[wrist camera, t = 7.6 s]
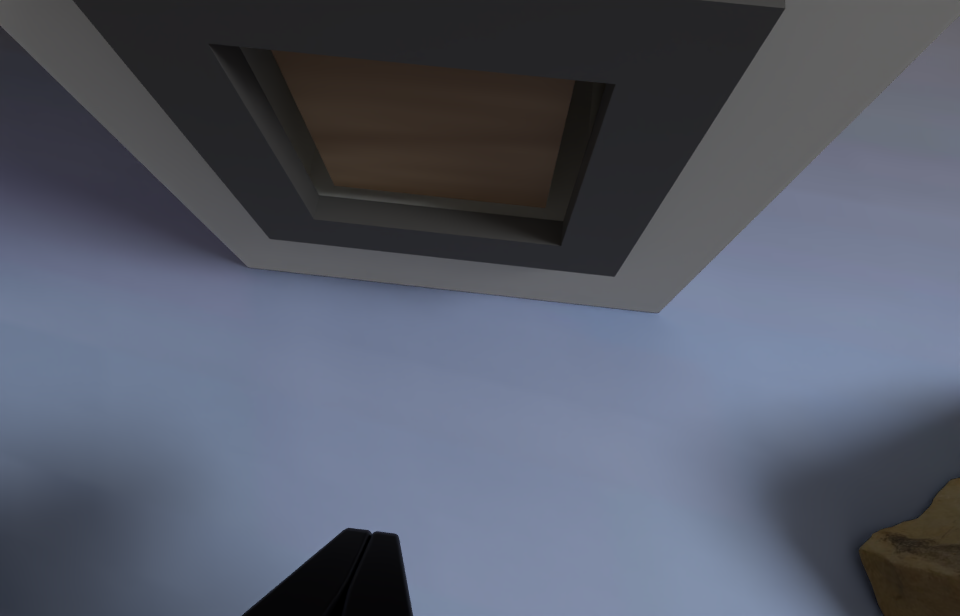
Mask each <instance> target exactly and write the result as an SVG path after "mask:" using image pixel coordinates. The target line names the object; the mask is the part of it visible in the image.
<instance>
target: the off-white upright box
mask: <svg viewBox="0 0 960 616" xmlns="http://www.w3.org/2000/svg"><path fill="white" fill-rule="evenodd" d="M959 15H960V0H0V26H1V27H2V28H3V29H4V30H5V31H6V32H7V33H8V34H9V35H10V36H11V37H12V38H13V39H14V40H16V41H17V42H18V43H19V44H20V45H21V46H22V47H23V48H24V49H25V50H26V51H27V52H28V53H29V54H30V55H31V56H32V57H33V58H34V59H35V60H36V61H37V62H38V63H39V64H40V65H41V66H42V67H43V68H44V69H45V70H46V71H47V72H48V73H49V74H50V75H51V76H52V77H53V78H54V79H56V80H57V81H58V82H59V83H60V84H61V85H62V86H63V87H64V88H65V89H66V90H67V91H68V92H69V93H70V94H71V95H72V96H73V97H74V98H75V99H76V100H77V101H78V102H79V103H80V104H81V105H82V106H83V107H84V108H85V109H86V110H87V111H88V112H89V113H90V114H91V115H92V116H93V117H94V118H96V119H97V120H98V121H99V122H100V123H101V124H102V125H103V126H104V127H105V128H106V129H107V130H108V131H109V132H110V133H111V134H112V135H113V136H114V137H115V138H116V139H117V140H118V141H119V142H120V143H121V144H122V145H123V146H124V147H125V148H126V149H127V150H128V151H129V152H130V153H131V154H132V155H133V156H135V157H136V158H137V159H138V160H139V161H140V162H141V163H142V164H143V165H144V166H145V167H146V168H147V169H148V170H149V171H150V172H151V173H152V174H153V175H154V176H155V177H156V178H157V179H158V180H159V181H160V182H161V183H162V184H163V185H164V186H165V187H166V188H167V189H168V190H169V191H170V192H171V193H172V194H173V195H175V196H176V197H177V198H178V199H179V200H180V201H181V202H182V203H183V204H184V205H185V206H186V207H187V208H188V209H189V210H190V211H191V212H192V213H193V214H194V215H195V216H196V217H197V218H198V219H199V220H200V221H201V222H202V223H203V224H204V225H205V226H206V227H207V228H208V229H209V230H210V231H211V232H212V233H213V234H215V235H216V236H217V237H218V238H219V239H220V240H221V241H222V242H223V243H224V244H225V245H226V246H227V247H228V248H229V249H230V250H231V251H232V252H233V253H234V254H235V255H236V256H237V257H238V258H239V259H240V260H241V261H242V262H243V263H244V264H245V265H246V266H247V267H248V268H257V269H266V270H275V271H284V272H293V273H302V274H311V275H320V276H329V277H338V278H347V279H356V280H365V281H374V282H383V283H392V284H401V285H410V286H419V287H428V288H437V289H445V290H454V291H463V292H472V293H481V294H490V295H499V296H508V297H517V298H526V299H535V300H544V301H553V302H562V303H571V304H580V305H589V306H598V307H607V308H616V309H625V310H634V311H643V312H652V313H659V312H660V311H661V310H662V309H663V308H664V307H665V306H666V305H667V304H668V303H669V302H670V301H671V300H672V299H673V298H674V297H675V296H676V295H677V294H678V293H679V292H680V291H681V290H682V289H683V288H684V287H686V286H687V285H688V284H689V283H690V282H691V281H692V280H693V279H694V278H695V277H696V276H697V275H698V274H699V273H700V272H701V271H702V270H703V269H704V268H705V267H706V266H707V265H708V264H709V263H710V262H711V261H712V260H713V259H714V258H715V257H716V256H717V255H718V254H719V253H720V252H721V251H722V250H723V249H724V248H725V247H726V246H727V245H728V244H729V243H730V242H731V241H732V240H733V239H734V238H735V237H736V236H737V235H738V234H739V233H740V232H741V231H742V230H743V229H744V228H745V227H746V226H747V225H748V224H749V223H750V222H751V221H752V220H753V219H754V218H755V217H756V216H757V215H758V214H759V213H760V212H761V211H762V210H763V209H764V208H765V207H766V206H767V205H768V204H769V203H770V202H771V201H772V200H773V199H774V198H775V197H776V196H778V195H779V194H780V193H781V192H782V191H783V190H784V189H785V188H786V187H787V186H788V185H789V184H790V183H791V182H792V181H793V180H794V179H795V178H796V177H797V176H798V175H799V174H800V173H801V172H802V171H803V170H804V169H805V168H806V167H807V166H808V165H809V164H810V163H811V162H812V161H813V160H814V159H815V158H816V157H817V156H818V155H819V154H820V153H821V152H822V151H823V150H824V149H825V148H826V147H827V146H828V145H829V144H830V143H831V142H832V141H833V140H834V139H835V138H836V137H837V136H838V135H839V134H840V133H841V132H842V131H843V130H844V129H845V128H846V127H847V126H848V125H849V124H850V123H851V122H852V121H853V120H854V119H855V118H856V117H857V116H858V115H859V114H860V113H861V112H862V111H863V110H864V109H865V108H866V107H867V106H868V105H870V104H871V103H872V102H873V101H874V100H875V99H876V98H877V97H878V96H879V95H880V94H881V93H882V92H883V91H884V90H885V89H886V88H887V87H888V86H889V85H890V84H891V83H892V82H893V81H894V80H895V79H896V78H897V77H898V76H899V75H900V74H901V73H902V72H903V71H904V70H905V69H906V68H907V67H908V66H909V65H910V64H911V63H912V62H913V61H914V60H915V59H916V58H917V57H918V56H919V55H920V54H921V53H922V52H923V51H924V50H925V49H926V48H927V47H928V46H929V45H930V44H931V43H932V42H933V41H934V40H935V39H936V38H937V37H938V36H939V35H940V34H941V33H942V32H943V31H944V30H945V29H946V28H947V27H948V26H949V25H950V24H951V23H952V22H953V21H954V20H955V19H956V18H957V17H958V16H959ZM271 50H277V51H287V52H297V53H307V54H317V55H327V56H337V57H347V58H357V59H367V60H377V61H387V62H397V63H407V64H417V65H427V66H437V67H447V68H457V69H468V70H478V71H488V72H498V73H508V74H518V75H528V76H538V77H548V78H558V79H568V80H575V84H574V89H573V93H572V97H571V101H570V105H569V110H568V114H567V118H566V122H565V127H564V131H563V135H562V139H561V144H560V148H559V152H558V156H557V160H556V165H555V169H554V173H553V177H552V182H551V186H550V190H549V194H548V199H547V203H546V207H545V208H539V207H529V206H520V205H511V204H501V203H492V202H483V201H473V200H464V199H454V198H445V197H436V196H426V195H417V194H407V193H398V192H389V191H379V190H370V189H361V188H351V187H342V186H335V185H334V183H333V181H332V179H331V177H330V175H329V173H328V171H327V168H326V166H325V164H324V162H323V160H322V158H321V156H320V154H319V151H318V149H317V147H316V145H315V143H314V141H313V139H312V136H311V134H310V132H309V130H308V128H307V126H306V124H305V122H304V119H303V117H302V115H301V113H300V111H299V109H298V107H297V105H296V102H295V100H294V98H293V96H292V94H291V92H290V90H289V88H288V85H287V83H286V81H285V79H284V77H283V75H282V73H281V70H280V68H279V66H278V64H277V62H276V60H275V58H274V56H273V53H272V51H271Z"/></svg>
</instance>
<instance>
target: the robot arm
mask: <svg viewBox="0 0 960 616" xmlns="http://www.w3.org/2000/svg"><path fill="white" fill-rule="evenodd" d="M242 616H413V613H412V607H411V602H410V596H409V591H408V585H407V580H406V574H405V568H404V563H403V557H402V552H401V546H400V541H399V537H398V535H397V534H394V533H386V532H379V531H376V532H374V533H373V534H372V533H371V532H370V531H369V530H362V529H354V528H347V529H345V530H343V531H342V532H341V533H340V534H338V535H337V536H336V537H335V538H334V539H333V540H331V541H330V542H329V543H328V544H327V545H325V546H324V547H323V548H322V549H321V550H319V551H318V552H317V553H316V554H315V555H313V556H312V557H311V558H310V559H309V560H307V561H306V562H305V563H304V564H303V565H301V566H300V567H299V568H298V569H297V570H295V571H294V572H293V573H292V574H291V575H289V576H288V577H287V578H286V579H285V580H284V581H282V582H281V583H280V584H279V585H278V586H276V587H275V588H274V589H273V590H272V591H270V592H269V593H268V594H267V595H266V596H264V597H263V598H262V599H261V600H260V601H258V602H257V603H256V604H255V605H254V606H252V607H251V608H250V609H249V610H248V611H246V612H245V613H244V614H243V615H242Z"/></svg>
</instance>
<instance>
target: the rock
mask: <svg viewBox="0 0 960 616" xmlns="http://www.w3.org/2000/svg"><path fill="white" fill-rule="evenodd" d="M859 554H860V558H861V561H862V564H863V566H864V568H865V570H866V572H867V575H868V577H869V580H870V582H871V584H872V587H873V590H874V594H875V596H876V599H877V602H878V606H879V607H880V609H881V611H882V613H883V614H884V616H960V478H956V479H951V480H950V481H949V482H948V483H947V484H946V485H945V487H944V488H943V489H941V490H940V491H939V492H938V494H937V495H936V496H935V497H934V499H933V502H932V504H931V505H930V507H929V508H928V509H927V510H926V511H925V512H924V513H923V514H922V515H921V516H920V517H919V518H916V519H913V520H910V521H905V522H902V523H900V524H897V525H895V526H893V527H889V528H884V529H881V530H879V531H878V532H876V533H873V534H872V536H871V538H870V539H869V540H867V541H866V542H865V543H864V544H863V545H862V546H861V547H860V549H859Z"/></svg>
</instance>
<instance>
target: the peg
mask: <svg viewBox="0 0 960 616" xmlns="http://www.w3.org/2000/svg"><path fill="white" fill-rule="evenodd" d="M271 51H272V53H273V56H274V58H275V60H276V62H277V64H278V66H279V68H280V70H281V73H282V75H283V77H284V79H285V81H286V83H287V85H288V88H289V90H290V92H291V94H292V96H293V98H294V100H295V102H296V105H297V107H298V109H299V111H300V113H301V115H302V117H303V119H304V122H305V124H306V126H307V128H308V130H309V132H310V134H311V136H312V139H313V141H314V143H315V145H316V147H317V149H318V151H319V154H320V156H321V158H322V160H323V162H324V164H325V166H326V168H327V171H328V173H329V175H330V177H331V179H332V181H333V183H334V185H335V186H342V187H351V188H361V189H370V190H379V191H389V192H398V193H407V194H417V195H426V196H436V197H445V198H454V199H464V200H473V201H483V202H492V203H501V204H511V205H520V206H529V207H539V208H545V207H546V203H547V199H548V194H549V190H550V186H551V182H552V177H553V173H554V169H555V165H556V160H557V156H558V152H559V148H560V144H561V139H562V135H563V131H564V127H565V122H566V118H567V114H568V110H569V105H570V101H571V97H572V93H573V89H574V84H575V80H568V79H558V78H548V77H538V76H528V75H518V74H508V73H498V72H488V71H478V70H468V69H457V68H447V67H437V66H427V65H417V64H407V63H397V62H387V61H377V60H367V59H357V58H347V57H337V56H327V55H317V54H307V53H297V52H287V51H277V50H271Z"/></svg>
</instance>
